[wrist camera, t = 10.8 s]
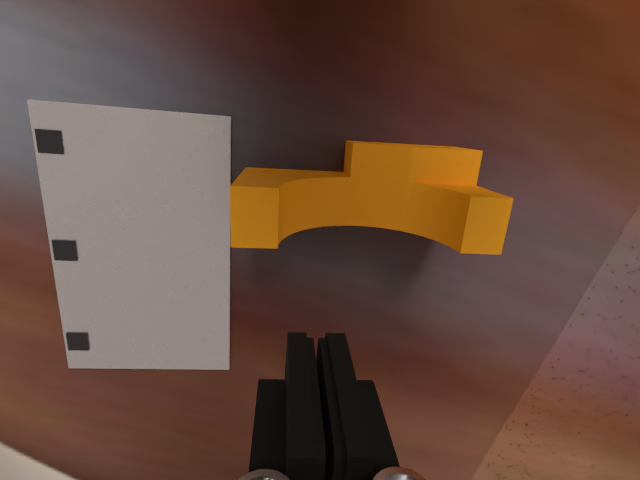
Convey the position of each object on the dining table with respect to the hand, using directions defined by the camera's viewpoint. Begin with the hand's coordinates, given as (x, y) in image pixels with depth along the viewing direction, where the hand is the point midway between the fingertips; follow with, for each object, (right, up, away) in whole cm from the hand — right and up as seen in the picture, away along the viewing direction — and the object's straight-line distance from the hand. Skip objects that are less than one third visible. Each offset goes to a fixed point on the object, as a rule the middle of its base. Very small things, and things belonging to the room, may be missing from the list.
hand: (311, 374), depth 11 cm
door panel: (-10, +3, +11) cm, 15 cm away
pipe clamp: (+2, +8, +11) cm, 13 cm away
